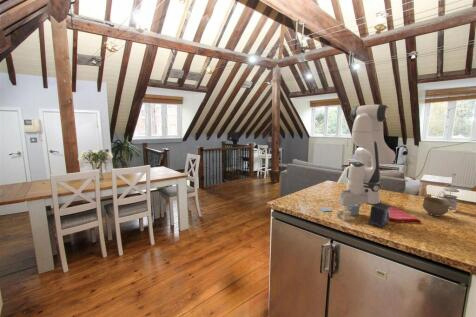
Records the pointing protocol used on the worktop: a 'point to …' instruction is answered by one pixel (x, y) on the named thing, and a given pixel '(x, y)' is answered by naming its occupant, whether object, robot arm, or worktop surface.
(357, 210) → the grey cube
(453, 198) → the french press
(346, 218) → the maple block
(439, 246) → the worktop surface
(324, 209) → the tile
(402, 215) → the dish towel
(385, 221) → the small box
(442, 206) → the bowl
